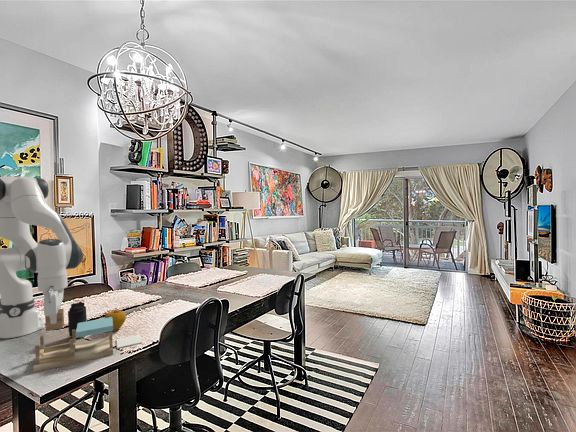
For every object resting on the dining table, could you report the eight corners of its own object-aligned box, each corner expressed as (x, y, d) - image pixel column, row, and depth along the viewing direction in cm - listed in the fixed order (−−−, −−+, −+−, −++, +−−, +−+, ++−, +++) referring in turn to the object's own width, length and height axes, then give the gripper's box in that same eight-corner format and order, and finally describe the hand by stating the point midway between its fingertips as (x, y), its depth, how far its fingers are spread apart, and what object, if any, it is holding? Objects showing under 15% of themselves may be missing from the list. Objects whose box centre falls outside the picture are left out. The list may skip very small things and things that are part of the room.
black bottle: (78, 340, 136) (76, 305, 135) (65, 339, 137) (63, 304, 137) (91, 333, 143) (90, 300, 142) (79, 332, 144) (77, 299, 144)
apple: (121, 333, 142) (120, 313, 142) (100, 334, 141) (99, 314, 141) (129, 325, 151) (128, 306, 151) (109, 326, 150) (108, 307, 150)
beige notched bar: (40, 356, 122) (39, 334, 122) (112, 340, 134) (111, 321, 134) (33, 372, 110) (32, 348, 110) (113, 354, 122) (112, 332, 122)
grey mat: (116, 340, 135) (116, 339, 134) (139, 335, 139) (139, 334, 139) (117, 348, 127) (117, 347, 127) (142, 343, 131) (141, 342, 131)
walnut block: (48, 326, 120) (47, 310, 119) (64, 323, 122) (63, 308, 122) (45, 331, 115) (45, 314, 115) (62, 328, 118) (62, 312, 118)
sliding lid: (78, 328, 127) (77, 323, 127) (112, 321, 133) (112, 316, 133) (76, 337, 117) (75, 332, 117) (113, 330, 123) (113, 325, 123)
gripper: (60, 288, 110) (62, 328, 111) (66, 276, 128) (67, 310, 129) (37, 291, 107) (39, 332, 108) (46, 278, 125) (48, 313, 126)
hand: (54, 320), depth 119 cm, fingers closed on walnut block, 5 cm apart
